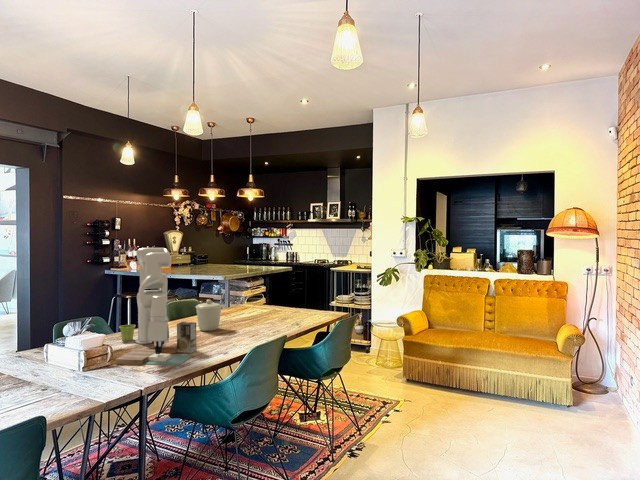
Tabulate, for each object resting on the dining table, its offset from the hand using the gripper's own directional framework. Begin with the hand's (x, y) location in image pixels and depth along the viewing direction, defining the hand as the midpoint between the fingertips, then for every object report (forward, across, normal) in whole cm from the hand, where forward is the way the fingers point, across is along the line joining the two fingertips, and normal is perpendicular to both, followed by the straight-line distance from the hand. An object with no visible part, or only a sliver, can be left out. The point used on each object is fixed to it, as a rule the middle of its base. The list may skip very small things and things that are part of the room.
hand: (158, 353), depth 231 cm
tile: (+3, +1, 0) cm, 3 cm away
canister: (+4, +1, +74) cm, 74 cm away
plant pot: (+4, -39, +39) cm, 55 cm away
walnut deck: (+3, -11, 0) cm, 11 cm away
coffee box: (+4, +8, +18) cm, 20 cm away
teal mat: (+3, +6, 0) cm, 7 cm away
